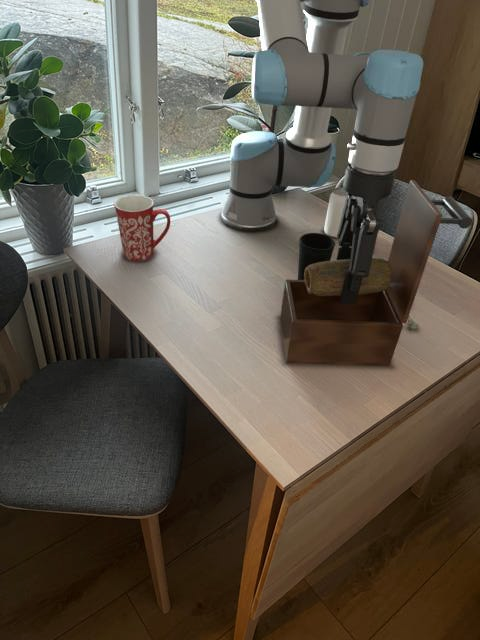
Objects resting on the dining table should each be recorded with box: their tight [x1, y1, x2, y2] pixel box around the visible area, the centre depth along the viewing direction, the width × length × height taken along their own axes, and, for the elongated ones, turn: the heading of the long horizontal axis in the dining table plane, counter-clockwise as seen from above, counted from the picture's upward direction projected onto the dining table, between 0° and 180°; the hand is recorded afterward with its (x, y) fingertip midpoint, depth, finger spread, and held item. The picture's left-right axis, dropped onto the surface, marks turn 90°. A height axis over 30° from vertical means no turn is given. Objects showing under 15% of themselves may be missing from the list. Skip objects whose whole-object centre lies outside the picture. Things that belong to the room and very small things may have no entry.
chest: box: [279, 278, 404, 367], centre depth 91 cm, size 20×14×10 cm
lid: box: [386, 179, 473, 324], centre depth 82 cm, size 21×14×7 cm
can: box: [323, 186, 347, 239], centre depth 128 cm, size 6×6×12 cm
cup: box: [297, 232, 336, 280], centre depth 106 cm, size 8×8×12 cm
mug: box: [113, 194, 171, 262], centre depth 113 cm, size 13×9×14 cm
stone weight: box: [304, 257, 392, 296], centre depth 85 cm, size 15×7×7 cm, turn 103°
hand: (343, 290), depth 87 cm, fingers closed on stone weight, 7 cm apart
